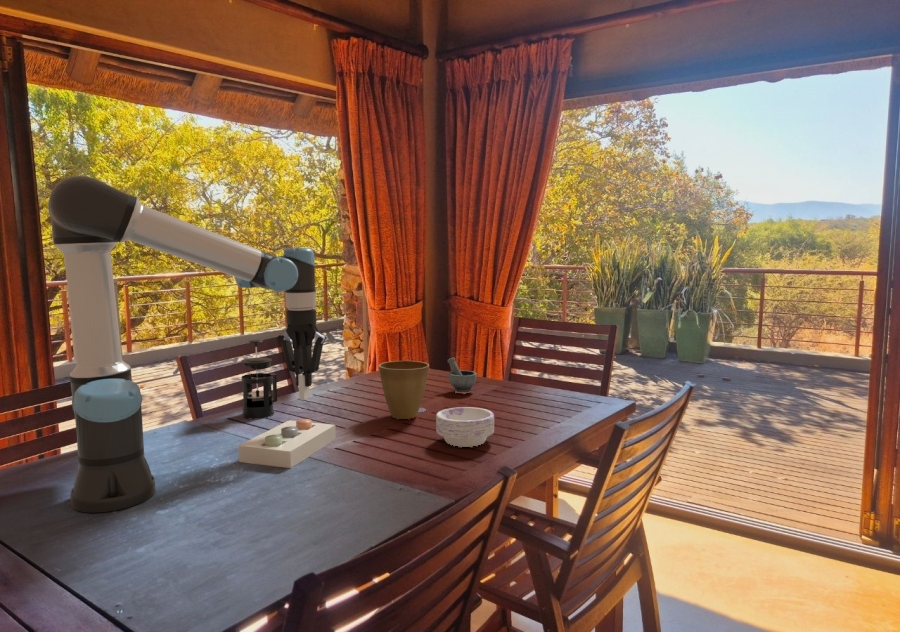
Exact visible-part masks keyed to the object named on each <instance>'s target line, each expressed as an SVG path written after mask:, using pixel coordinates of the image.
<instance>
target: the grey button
mask: <svg viewBox="0 0 900 632" xmlns="http://www.w3.org/2000/svg"><path fill="white" fill-rule="evenodd" d="M281 436H282V437H286V438H294V437H296V436H298V428H297V427H293V426H290V427H284V428H282V429H281Z"/></svg>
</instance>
